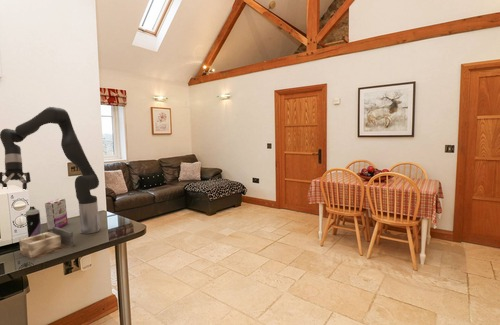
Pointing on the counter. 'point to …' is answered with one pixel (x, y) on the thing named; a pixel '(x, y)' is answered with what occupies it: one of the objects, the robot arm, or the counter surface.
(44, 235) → the socket block
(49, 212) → the candy bar box
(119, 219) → the counter surface
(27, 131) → the robot arm
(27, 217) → the spray can
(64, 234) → the backstop board
